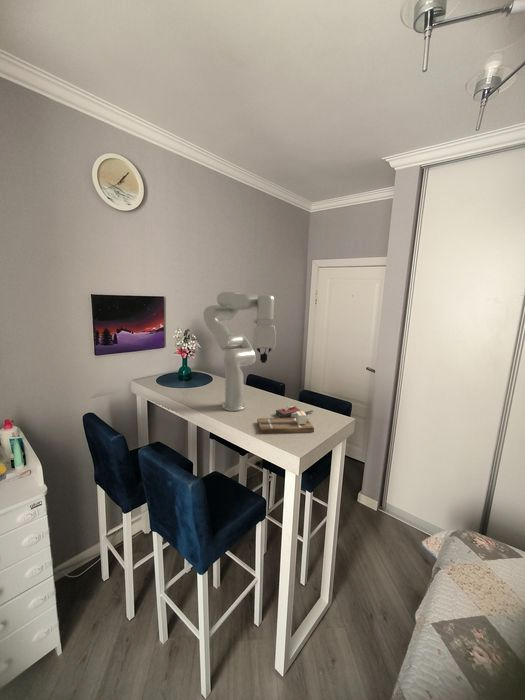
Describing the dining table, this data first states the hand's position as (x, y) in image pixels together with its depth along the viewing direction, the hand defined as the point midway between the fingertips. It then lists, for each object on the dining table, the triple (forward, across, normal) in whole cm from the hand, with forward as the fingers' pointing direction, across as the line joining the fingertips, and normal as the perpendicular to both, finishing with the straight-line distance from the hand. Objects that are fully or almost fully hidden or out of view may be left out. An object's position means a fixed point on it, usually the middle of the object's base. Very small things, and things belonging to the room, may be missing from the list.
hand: (263, 362), depth 142 cm
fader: (+27, +18, -7) cm, 33 cm away
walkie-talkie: (+30, +18, +8) cm, 36 cm away
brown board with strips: (+29, +10, -7) cm, 32 cm away
